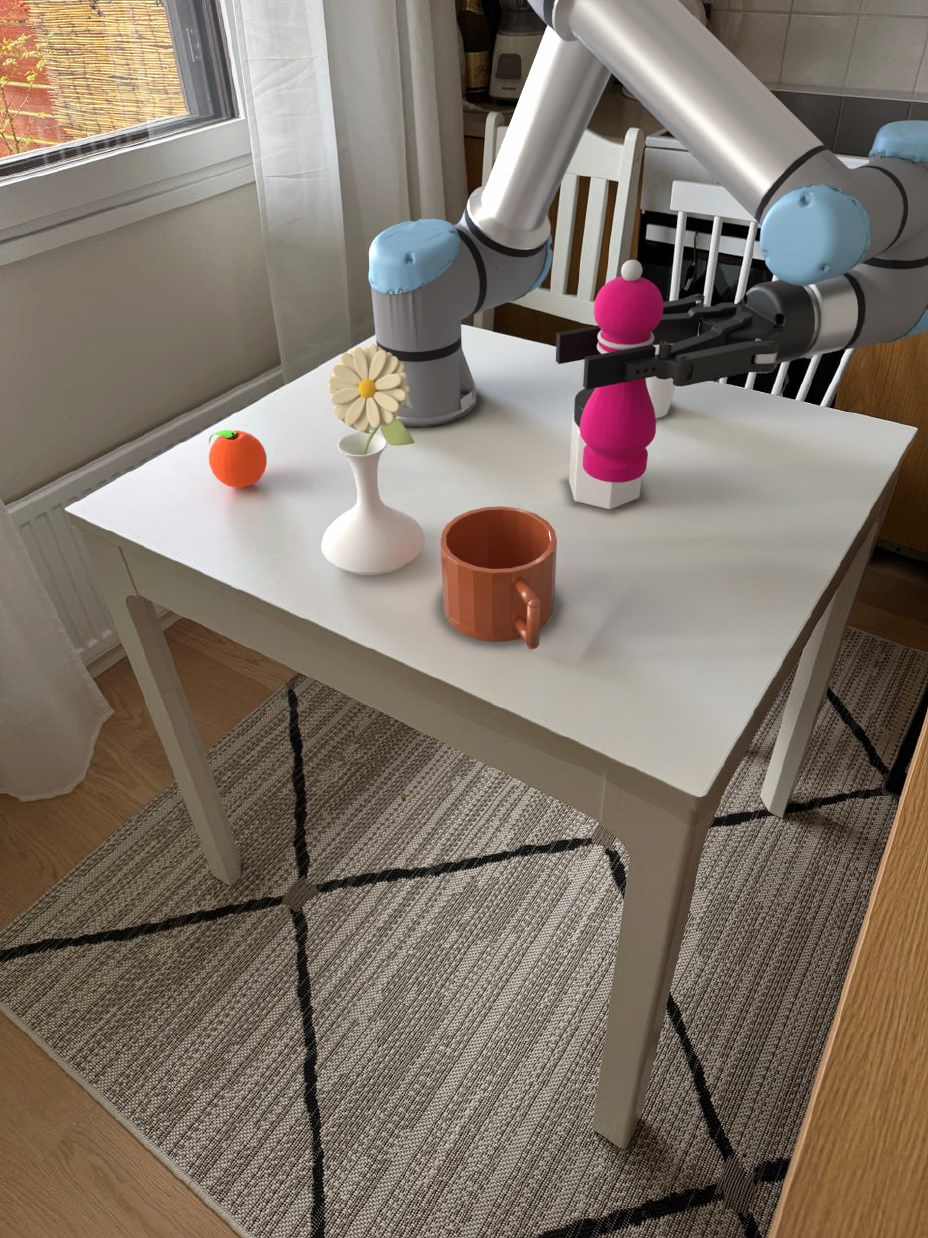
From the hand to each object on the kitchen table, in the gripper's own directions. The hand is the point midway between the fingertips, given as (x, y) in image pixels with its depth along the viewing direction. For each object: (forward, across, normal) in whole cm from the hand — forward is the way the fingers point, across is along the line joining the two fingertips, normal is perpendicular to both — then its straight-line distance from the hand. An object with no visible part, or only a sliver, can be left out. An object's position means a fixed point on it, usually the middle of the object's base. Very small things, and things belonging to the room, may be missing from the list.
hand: (571, 360), depth 80 cm
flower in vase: (+17, +11, -25) cm, 32 cm away
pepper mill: (-5, 0, -12) cm, 13 cm away
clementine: (+29, +34, -25) cm, 51 cm away
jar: (-12, +14, -25) cm, 31 cm away
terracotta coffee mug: (+8, -4, -24) cm, 26 cm away
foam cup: (-27, +31, -25) cm, 48 cm away
